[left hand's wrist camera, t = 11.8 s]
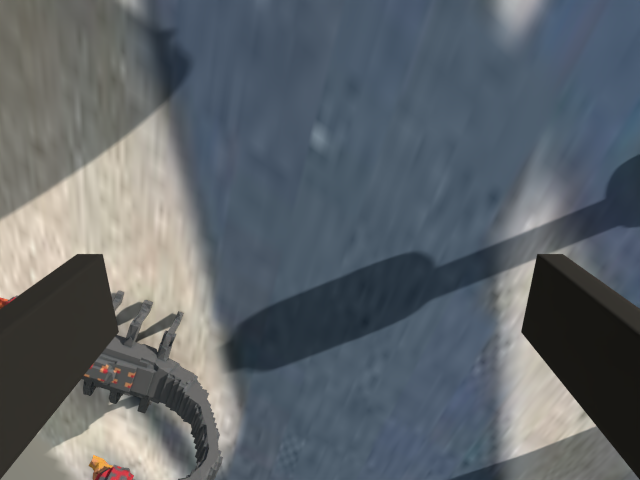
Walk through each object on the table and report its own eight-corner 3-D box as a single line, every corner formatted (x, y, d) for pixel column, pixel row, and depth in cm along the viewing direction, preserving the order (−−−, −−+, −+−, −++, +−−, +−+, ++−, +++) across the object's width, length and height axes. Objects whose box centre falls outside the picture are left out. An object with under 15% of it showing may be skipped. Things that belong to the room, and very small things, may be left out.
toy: (223, 422, 52) (175, 591, 34) (4, 353, 48) (-172, 504, 31) (259, 339, 47) (225, 486, 30) (21, 256, 43) (-173, 369, 26)
